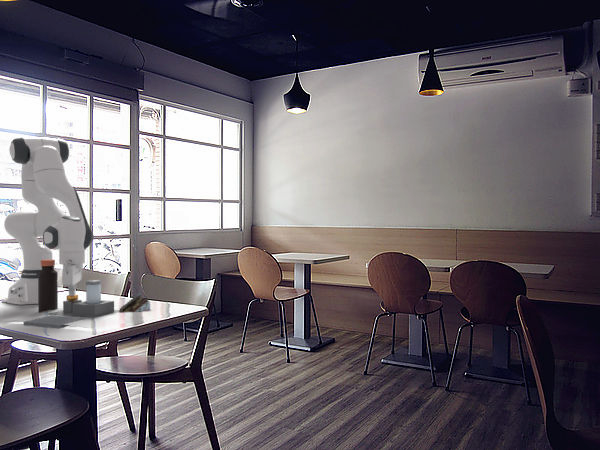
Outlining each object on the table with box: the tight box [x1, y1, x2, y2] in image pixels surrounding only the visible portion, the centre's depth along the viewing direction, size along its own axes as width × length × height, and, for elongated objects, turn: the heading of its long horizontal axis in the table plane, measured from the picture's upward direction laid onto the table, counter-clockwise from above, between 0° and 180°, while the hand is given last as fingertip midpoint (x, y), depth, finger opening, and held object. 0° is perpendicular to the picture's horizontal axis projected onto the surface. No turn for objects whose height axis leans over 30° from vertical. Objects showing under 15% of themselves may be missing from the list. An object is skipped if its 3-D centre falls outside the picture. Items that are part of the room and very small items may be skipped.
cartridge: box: [85, 279, 102, 304], centre depth 191 cm, size 5×5×12 cm
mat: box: [23, 315, 88, 329], centre depth 178 cm, size 16×12×1 cm
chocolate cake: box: [118, 292, 151, 313], centre depth 198 cm, size 10×7×12 cm
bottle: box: [37, 259, 59, 313], centre depth 199 cm, size 7×7×20 cm
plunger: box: [66, 294, 79, 302], centre depth 194 cm, size 4×4×6 cm
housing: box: [46, 299, 120, 319], centre depth 192 cm, size 22×16×5 cm
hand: (72, 295), depth 194 cm, fingers closed, pressing on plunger
